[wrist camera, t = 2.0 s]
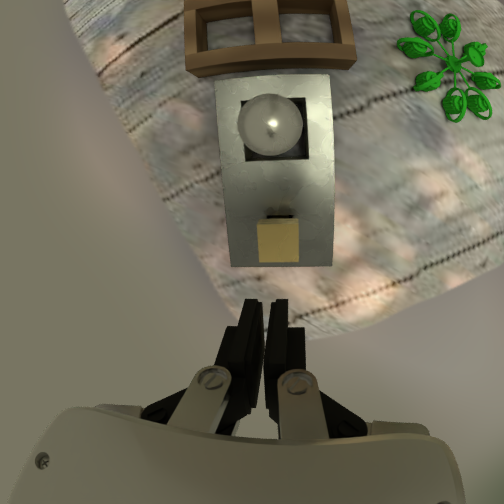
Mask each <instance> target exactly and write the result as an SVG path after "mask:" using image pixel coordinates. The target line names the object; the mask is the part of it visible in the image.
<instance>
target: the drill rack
mask: <svg viewBox="0 0 504 504" xmlns="http://www.w3.org/2000/svg"><path fill="white" fill-rule="evenodd" d="M279 14H330V20H331V26H332V32H333V38H334V43H319V42H286V43H282V39H281V30H280V21H279ZM246 16H253V21H254V32H255V43H256V44H254V45H244V46H236V47H228V48H221V49H215V50H209V51H208V45H207V24H206V23H207V22H212V21H218V20H224V19H231V18H238V17H246ZM184 39H185V66H186V71H188V72H190V73H191V74H193V75H195V76H196V77H198V78H201V77H207V76H213V75H220V74H227V73H235V72H244V71H254V70H267V69H289V68H321V69H342V70H349V69H350V68H351V67H352V65H353V64H354V63H355V62H356V61H357V56H356V49H355V42H354V36H353V30H352V25H351V20H350V15H349V10H348V5H347V1H346V0H184Z"/></svg>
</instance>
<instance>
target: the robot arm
mask: <svg viewBox="0 0 504 504" xmlns="http://www.w3.org/2000/svg"><path fill="white" fill-rule="evenodd" d="M264 352H265V353H264ZM305 354H306V353H305V328H304V327H288V299H276V302H271V309H270V317H269V324H268V332H267V339H266V346H265V341H264V324H263V306H262V302H258V299H245V301H244V305H243V308H242V312H241V316H240V319H239V323H238V326H227V328H226V330H225V334H224V337H223V339H222V342H221V345H220V349H219V351H218V354H217V358H216V361H215V364H214V365H213V366H207V367H204V368H202V369H201V370H199V371H198V372H197V373H196V374H195V376H194V378H193V379H192V381H191V383H190V385H189V387H188V388H186V389H184V390H181V391H179V392H177V393H175V394H173V395H171V396H168V397H166V398H164V399H162V400H160V401H157V402H155V403H153V404H151V405H149V406H147V407H146V408H142V407H141V406H132V405H113V404H99V405H97V406H95V407H73V408H68V409H65V410H63V411H61V412H60V413H59V414H57V415H56V417H54V419H53V420H52V421H51V422H50V424H49V425H48V426H47V427H46V429H45V430H44V432H43V433H42V435H41V436H40V438H39V440H38V441H37V443H36V444H35V446H34V448H33V449H32V451H31V453H30V455H29V457H28V458H27V461H26V462H25V464H24V467H23V468H22V470H21V472H20V474H19V476H18V478H17V480H16V482H15V485H14V487H13V489H12V492H11V494H10V497H9V499H8V501H7V504H466V501H465V493H464V488H463V483H462V478H461V474H460V471H459V468H458V464H457V462H456V459H455V457H454V454H453V452H452V451H451V449H450V447H449V446H448V445H447V444H446V443H445V442H444V441H442V440H440V439H438V438H435V437H432V436H430V434H429V430H428V429H427V428H426V427H425V426H424V425H422V424H418V423H400V422H399V423H398V422H384V421H373V422H372V423H369V422H365V421H364V420H363V419H361V418H360V417H359V416H357V415H356V414H354V413H352V412H351V411H349V410H348V409H346V408H345V407H343V406H342V405H340V404H339V403H337V402H336V401H334V400H333V399H331V398H330V397H329V396H327V395H326V394H324V393H323V392H321V391H320V390H319V387H318V383H317V380H316V377H315V376H314V375H313V374H312V373H310V372H309V371H306V357H305V356H306V355H305ZM263 359H264V363H263ZM263 364H264V365H263ZM262 366H263V369H264V385H265V401H266V409H269V417H270V418H271V419H273V420H274V421H275V422H276V423H277V424H278V439H260V438H246V437H236V436H235V434H236V432H237V430H238V427H239V423H240V419H241V418H243V417H245V416H246V415H247V414H251V408H256V405H257V399H258V393H259V386H260V379H261V373H262Z"/></svg>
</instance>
